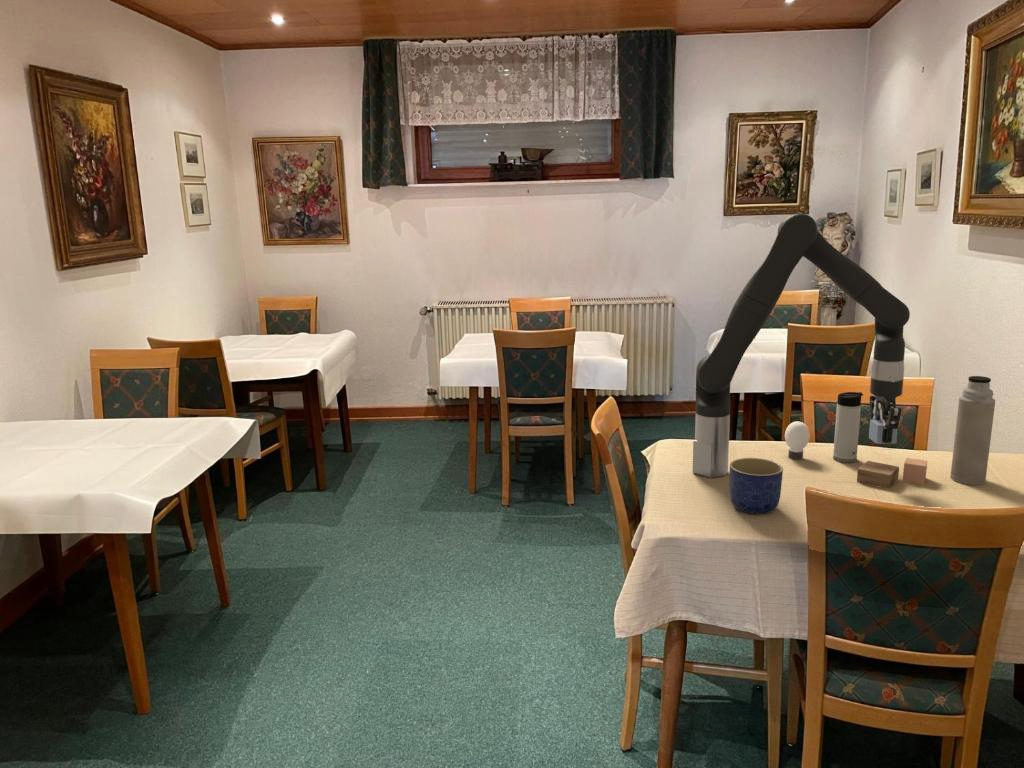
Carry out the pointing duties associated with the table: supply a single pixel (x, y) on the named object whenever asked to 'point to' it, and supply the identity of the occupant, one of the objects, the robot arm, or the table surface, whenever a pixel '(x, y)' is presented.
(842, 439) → the travel mug
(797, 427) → the light bulb
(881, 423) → the blue cube
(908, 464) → the terracotta cube
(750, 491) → the planter
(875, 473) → the walnut block
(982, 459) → the thermos bottle
